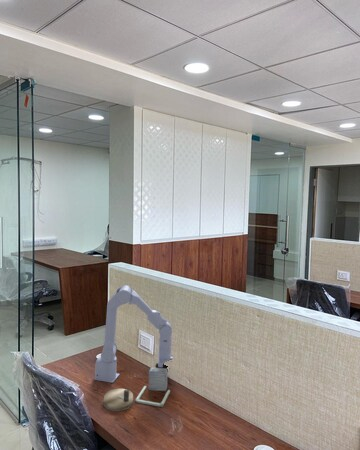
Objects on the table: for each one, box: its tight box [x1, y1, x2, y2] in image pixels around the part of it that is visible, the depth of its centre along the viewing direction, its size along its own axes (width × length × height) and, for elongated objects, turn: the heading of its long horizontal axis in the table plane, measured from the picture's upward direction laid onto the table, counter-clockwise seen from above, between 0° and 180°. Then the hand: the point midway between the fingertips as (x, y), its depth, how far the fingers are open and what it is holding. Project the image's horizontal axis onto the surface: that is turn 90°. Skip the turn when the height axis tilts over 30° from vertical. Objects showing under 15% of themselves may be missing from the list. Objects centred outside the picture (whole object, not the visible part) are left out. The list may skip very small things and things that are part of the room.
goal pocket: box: [134, 385, 171, 408], centre depth 154 cm, size 12×12×1 cm
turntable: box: [103, 388, 134, 410], centre depth 149 cm, size 12×12×6 cm
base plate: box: [102, 400, 135, 412], centre depth 149 cm, size 12×12×1 cm
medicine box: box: [148, 366, 169, 392], centre depth 160 cm, size 8×4×9 cm, turn 84°
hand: (164, 375), depth 170 cm, fingers open, 7 cm apart
